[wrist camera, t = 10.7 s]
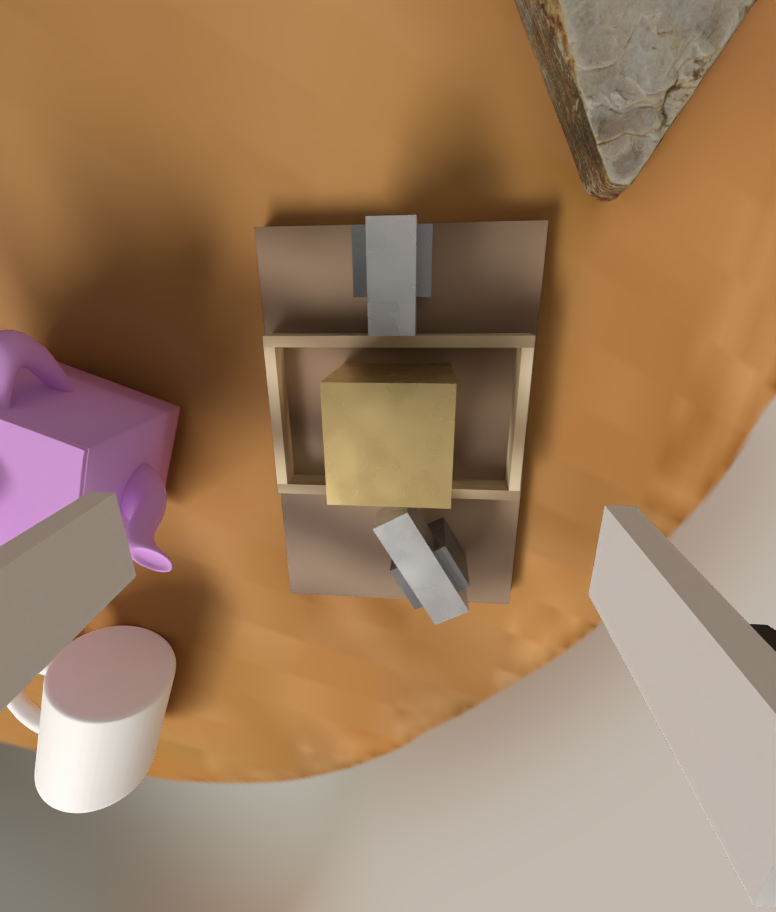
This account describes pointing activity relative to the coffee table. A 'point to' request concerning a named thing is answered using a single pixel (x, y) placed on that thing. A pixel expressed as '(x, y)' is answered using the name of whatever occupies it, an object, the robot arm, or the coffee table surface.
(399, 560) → the shafts
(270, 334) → the framed base plate
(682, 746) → the robot arm
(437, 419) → the gold cube
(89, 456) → the teapot
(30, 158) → the coffee table surface
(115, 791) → the mug
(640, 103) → the stone
